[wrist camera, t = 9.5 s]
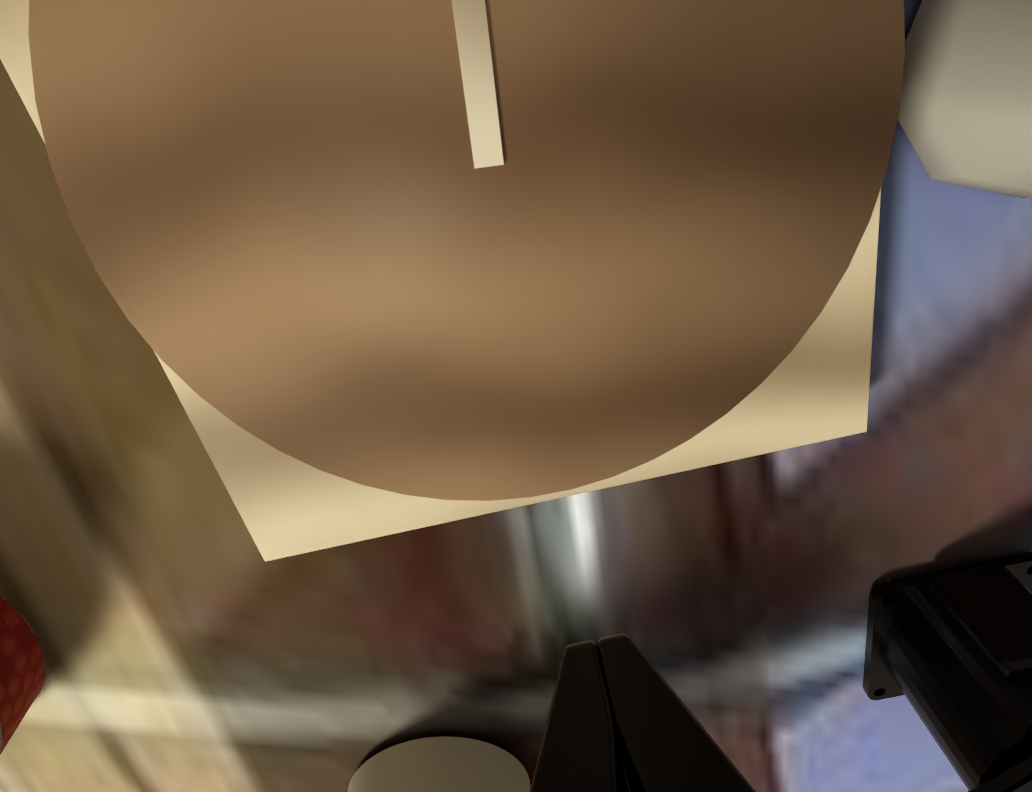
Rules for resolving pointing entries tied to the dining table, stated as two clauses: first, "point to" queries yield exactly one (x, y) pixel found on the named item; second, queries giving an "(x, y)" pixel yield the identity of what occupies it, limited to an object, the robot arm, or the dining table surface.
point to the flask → (971, 93)
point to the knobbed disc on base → (470, 213)
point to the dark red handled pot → (17, 669)
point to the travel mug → (441, 768)
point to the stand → (375, 512)
